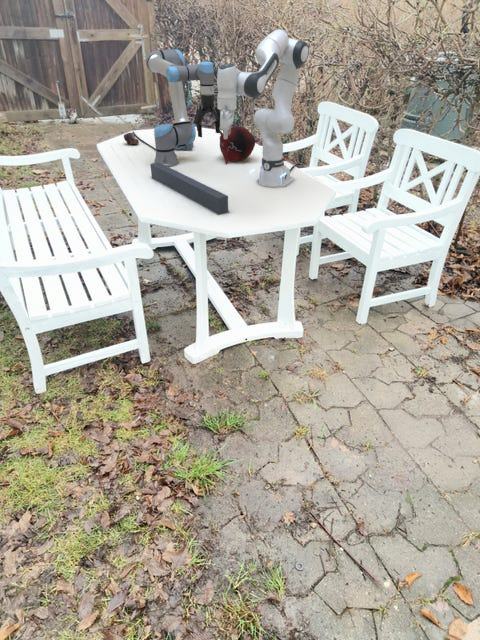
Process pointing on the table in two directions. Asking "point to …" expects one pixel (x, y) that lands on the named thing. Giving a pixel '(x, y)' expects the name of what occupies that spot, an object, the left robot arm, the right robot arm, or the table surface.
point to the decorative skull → (237, 144)
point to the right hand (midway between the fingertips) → (227, 136)
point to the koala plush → (184, 147)
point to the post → (190, 188)
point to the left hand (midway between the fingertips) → (209, 134)
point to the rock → (131, 138)
